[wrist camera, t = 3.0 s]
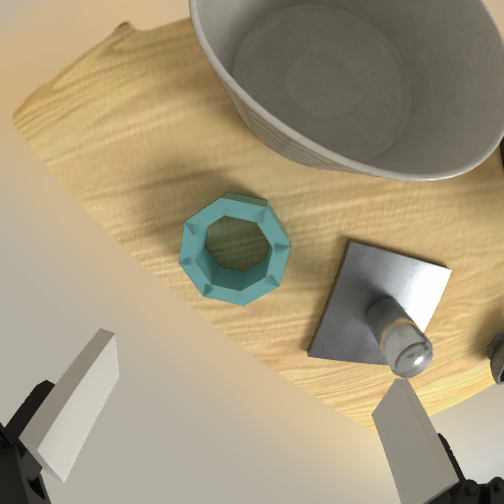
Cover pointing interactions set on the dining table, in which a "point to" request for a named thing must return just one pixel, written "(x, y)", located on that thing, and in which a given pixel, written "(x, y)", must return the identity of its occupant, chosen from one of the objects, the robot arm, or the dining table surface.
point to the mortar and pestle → (497, 358)
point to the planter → (362, 81)
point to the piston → (380, 310)
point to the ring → (224, 279)
